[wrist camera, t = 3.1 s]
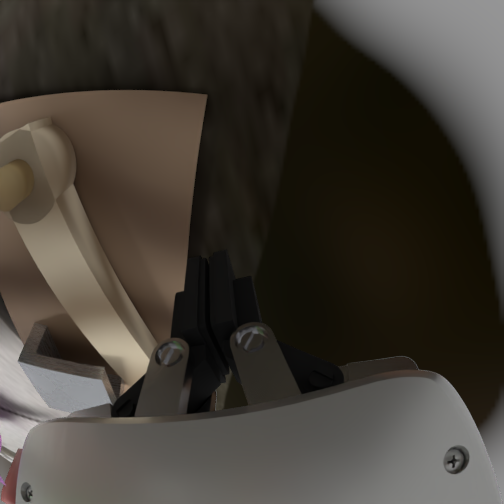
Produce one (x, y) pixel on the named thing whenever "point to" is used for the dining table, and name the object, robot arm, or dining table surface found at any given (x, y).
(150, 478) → the robot arm
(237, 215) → the dining table surface
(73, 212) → the oak link
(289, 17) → the dining table surface
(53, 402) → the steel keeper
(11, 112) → the walnut board
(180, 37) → the dining table surface
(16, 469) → the bucket
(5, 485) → the teapot
